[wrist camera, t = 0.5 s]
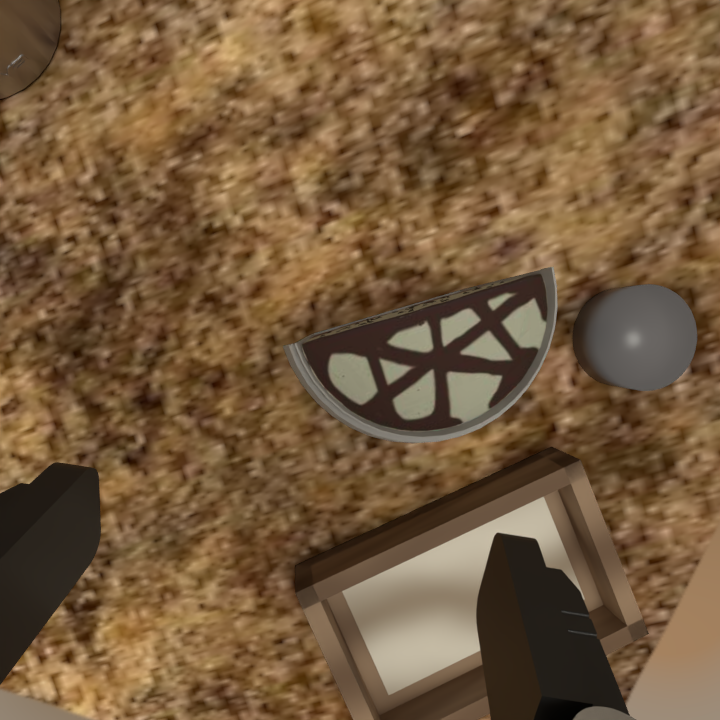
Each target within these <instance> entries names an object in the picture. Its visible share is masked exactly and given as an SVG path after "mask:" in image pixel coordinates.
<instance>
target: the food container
mask: <svg viewBox="0 0 720 720" xmlns="http://www.w3.org/2000/svg"><path fill="white" fill-rule="evenodd" d="M556 314H557V285H556V279H555V273H554V268H553V267H549V268H544V269H541V270H539V271H535V272H531V273H527V274H523V275H519V276H515V277H511V278H507V279H503V280H499V281H495V282H491V283H486V284H482V285H478V286H474V287H470V288H466V289H462V290H459V291H456V292H452V293H449V294H446V295H442V296H439V297H435V298H432V299H429V300H425V301H422V302H419V303H415V304H412V305H408V306H405V307H402V308H398V309H395V310H392V311H388V312H385V313H381V314H378V315H375V316H371V317H368V318H364V319H361V320H358V321H354V322H351V323H348V324H344V325H341V326H337V327H334V328H331V329H327V330H324V331H321V332H317V333H314V334H311V335H309V336H307V337H305V338H303V339H301V340H300V341H298V342H296V343H294V344H289V345H285V346H283V348H284V351H285V353H286V356H287V358H288V361H289V363H290V366H291V367H292V369H293V371H294V372H295V374H296V376H297V377H298V379H299V381H300V382H301V384H302V386H303V387H304V388H305V389H306V390H307V392H308V393H309V394H310V395H311V396H312V398H313V399H314V400H315V401H316V402H317V403H318V404H319V405H320V406H321V407H322V408H324V409H325V410H326V411H327V412H328V413H329V414H330V415H332V416H333V417H334V418H336V419H338V420H339V421H341V422H342V423H344V424H345V425H347V426H349V427H350V428H352V429H355V430H357V431H359V432H362V433H364V434H366V435H369V436H372V437H376V438H380V439H384V440H388V441H393V442H405V443H423V442H437V441H443V440H447V439H451V438H456V437H460V436H462V435H465V434H467V433H470V432H472V431H475V430H477V429H480V428H481V427H483V426H485V425H486V424H488V423H490V422H491V421H493V420H494V419H496V418H498V417H499V416H500V415H501V414H503V413H504V412H505V411H506V410H507V409H509V408H510V407H511V406H512V405H513V404H514V403H515V402H516V401H517V400H518V399H519V398H520V396H521V395H522V394H523V393H524V392H525V391H526V390H527V389H528V387H529V386H530V384H531V382H532V381H533V379H534V378H535V376H536V375H537V373H538V372H539V370H540V368H541V366H542V364H543V361H544V359H545V357H546V355H547V352H548V350H549V348H550V344H551V340H552V337H553V333H554V329H555V323H556Z"/></svg>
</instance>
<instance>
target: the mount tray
mask: <svg viewBox="0 0 720 720" xmlns="http://www.w3.org/2000/svg"><path fill="white" fill-rule="evenodd" d="M496 533H504V534H510V535H517V536H523V537H529V538H535V539H536V540H537V541H538V544H539V547H540V550H541V552H542V555H543V558H544V561H545V564H546V567H549V568H555V569H561V570H562V571H563V572H564V573H565V574H566V575H567V576H568V578H569V579H570V580H571V581H572V582H573V583H574V585H575V586H576V587H577V588H578V589H579V590H580V592H581V594H582V597H583V600H584V602H585V605H586V607H587V610H588V612H589V619H591V620H592V622H593V625H594V627H595V630H596V632H597V639H599V640H600V642H601V645H602V647H603V650H604V652H605V655H608V654H610V653H612V652H614V651H616V650H618V649H620V648H622V647H624V646H626V645H628V644H630V643H632V642H633V641H635V640H637V639H639V638H641V637H643V636H645V635H647V634H649V633H648V631H647V628H646V626H645V623H644V620H643V618H642V615H641V613H640V610H639V608H638V605H637V603H636V600H635V598H634V595H633V592H632V590H631V587H630V585H629V582H628V580H627V577H626V575H625V572H624V570H623V567H622V564H621V562H620V559H619V557H618V554H617V552H616V549H615V547H614V544H613V542H612V539H611V537H610V534H609V531H608V529H607V526H606V524H605V521H604V519H603V516H602V514H601V511H600V509H599V506H598V503H597V501H596V498H595V496H594V493H593V491H592V488H591V486H590V483H589V481H588V478H587V476H586V473H585V470H584V468H583V465H582V463H581V460H579V459H577V458H575V457H573V456H571V455H569V454H566V453H564V452H562V451H560V450H558V449H556V448H553V447H550V448H548V449H546V450H544V451H542V452H540V453H538V454H535V455H533V456H531V457H529V458H527V459H525V460H522V461H520V462H518V463H516V464H514V465H512V466H509V467H507V468H505V469H503V470H501V471H499V472H497V473H494V474H492V475H490V476H488V477H486V478H484V479H481V480H479V481H477V482H475V483H473V484H471V485H468V486H466V487H464V488H462V489H460V490H458V491H455V492H453V493H451V494H449V495H447V496H445V497H443V498H440V499H438V500H436V501H434V502H432V503H430V504H427V505H425V506H423V507H421V508H419V509H417V510H414V511H412V512H410V513H408V514H406V515H404V516H402V517H399V518H397V519H395V520H393V521H391V522H389V523H386V524H384V525H382V526H380V527H378V528H376V529H373V530H371V531H369V532H367V533H365V534H363V535H360V536H358V537H356V538H354V539H352V540H350V541H348V542H345V543H343V544H341V545H339V546H337V547H335V548H332V549H330V550H328V551H326V552H324V553H322V554H319V555H317V556H315V557H313V558H311V559H309V560H306V561H304V562H302V563H300V564H298V565H296V566H295V594H296V596H297V598H298V600H299V602H300V605H301V607H302V609H303V611H304V613H305V615H306V618H307V620H308V622H309V624H310V626H311V629H312V631H313V633H314V635H315V637H316V640H317V642H318V644H319V646H320V648H321V650H322V653H323V655H324V657H325V659H326V661H327V664H328V666H329V668H330V670H331V672H332V674H333V677H334V679H335V681H336V683H337V685H338V688H339V690H340V692H341V694H342V696H343V699H344V701H345V703H346V705H347V707H348V709H349V712H350V714H351V716H352V718H353V720H478V719H480V718H482V717H484V716H486V715H488V714H490V709H489V703H488V696H487V690H486V683H485V677H484V670H483V664H482V658H481V651H480V645H479V638H478V632H477V624H476V608H477V598H478V593H479V589H480V585H481V582H482V578H483V574H484V571H485V567H486V563H487V560H488V556H489V552H490V548H491V545H492V541H493V538H494V536H495V534H496Z"/></svg>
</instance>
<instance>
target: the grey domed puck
mask: <svg viewBox="0 0 720 720" xmlns="http://www.w3.org/2000/svg"><path fill="white" fill-rule="evenodd" d="M696 343H697V329H696V323H695V320H694V317H693V314H692V312H691V310H690V308H689V307H688V305H687V304H686V303H685V301H684V300H683V299H682V298H681V297H680V296H679V295H677V294H676V293H675V292H673V291H671V290H670V289H668V288H665V287H662V286H658V285H650V284H648V285H637V286H630V287H622V288H614V289H609V290H606V291H603V292H601V293H599V294H597V295H596V296H594V297H593V298H591V299H590V300H589V301H588V302H587V303H586V304H585V305H584V307H583V308H582V309H581V311H580V312H579V314H578V316H577V319H576V321H575V324H574V329H573V347H574V352H575V355H576V358H577V360H578V362H579V364H580V365H581V367H582V368H583V369H584V371H585V372H586V373H587V374H588V375H589V376H591V377H592V378H593V379H595V380H597V381H599V382H601V383H604V384H607V385H612V386H618V387H623V388H629V389H635V390H640V391H650V390H656V389H660V388H663V387H665V386H667V385H669V384H671V383H673V382H674V381H675V380H677V379H678V378H679V377H680V376H681V375H682V374H683V373H684V371H685V370H686V369H687V367H688V366H689V364H690V362H691V360H692V358H693V355H694V352H695V349H696Z"/></svg>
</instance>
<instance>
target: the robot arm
mask: <svg viewBox="0 0 720 720" xmlns="http://www.w3.org/2000/svg"><path fill="white" fill-rule="evenodd" d="M59 33H60V6H59V2H58V0H0V99H2V98H6V97H9V96H11V95H13V94H15V93H17V92H19V91H21V90H23V89H24V88H26V87H27V86H28V85H29V84H30V83H32V82H33V81H34V80H35V79H37V78H38V77H39V75H40V74H41V73H42V72H43V70H44V69H45V68H46V66H47V65H48V64H49V62H50V60H51V58H52V56H53V53H54V51H55V49H56V47H57V43H58V38H59ZM100 534H101V523H100V495H99V476H98V472H97V470H96V469H94V468H90V467H84V466H78V465H71V464H65V463H58V462H56V463H53V464H51V465H50V466H49V467H48V468H47V469H46V470H44V471H43V472H42V473H41V474H40V475H39V476H38V477H37V478H36V479H35V480H34V481H32V482H31V483H30V484H24V483H21V484H19V485H17V486H14V487H12V488H10V489H8V490H6V491H4V492H2V493H0V684H1V683H2V682H3V680H4V679H5V678H6V676H7V675H8V674H9V672H10V671H11V670H12V668H13V667H14V666H15V664H16V663H17V661H18V660H19V659H20V657H21V656H22V655H23V653H24V652H25V651H26V649H27V648H28V647H29V645H30V644H31V643H32V641H33V640H34V639H35V637H36V636H37V635H38V633H39V632H40V631H41V629H42V628H43V627H44V625H45V624H46V623H47V621H48V620H49V618H50V617H51V616H52V614H53V613H54V612H55V610H56V609H57V608H58V606H59V605H60V604H61V602H62V601H63V600H64V598H65V597H66V596H67V594H68V593H69V592H70V590H71V589H72V588H73V586H74V585H75V584H76V582H77V581H78V579H79V578H80V577H81V575H82V574H83V573H84V571H85V570H86V569H87V567H88V566H89V565H90V563H91V562H92V560H93V558H94V556H95V554H96V551H97V548H98V545H99V541H100ZM476 624H477V632H478V638H479V645H480V651H481V658H482V664H483V670H484V677H485V683H486V690H487V696H488V703H489V709H490V716H491V720H635V719H634V718H632V717H631V716H630V715H629V713H628V710H627V707H626V705H625V702H624V700H623V697H622V695H621V692H620V690H619V687H618V685H617V682H616V680H615V677H614V675H613V672H612V670H611V667H610V665H609V662H608V660H607V657H606V655H605V652H604V650H603V647H602V645H601V642H600V640H599V639H597V632H596V630H595V627H594V625H593V622H592V620H591V619H589V612H588V610H587V607H586V605H585V602H584V600H583V597H582V594H581V592H580V590H579V589H578V588H577V587H576V586H575V585H574V583H573V582H572V581H571V580H570V579H569V578H568V576H567V575H566V574H565V573H564V572H563V571H562V570H561V569H555V568H549V567H546V564H545V561H544V558H543V555H542V552H541V550H540V547H539V544H538V541H537V540H536V539H535V538H529V537H523V536H517V535H510V534H504V533H496V534H495V536H494V538H493V541H492V545H491V548H490V552H489V556H488V560H487V563H486V567H485V571H484V574H483V578H482V582H481V585H480V589H479V593H478V598H477V608H476Z"/></svg>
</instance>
